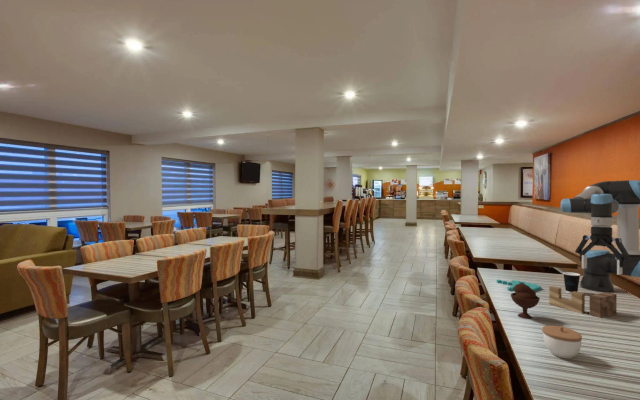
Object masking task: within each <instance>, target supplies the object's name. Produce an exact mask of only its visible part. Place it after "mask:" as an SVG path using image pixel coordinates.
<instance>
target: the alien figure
mask: <svg viewBox="0 0 640 400" xmlns="http://www.w3.org/2000/svg"><path fill="white" fill-rule="evenodd" d="M496 284H502V285H507V287H506V288H507V291H508V292H514V287H515V285H517V284H525V285H527V286H528V287H529V288H531V289H533V290H534V291H535V292H536V293H537V292H539V291H540V290H541V291H542V286H541V285H539V284H538V283H537V284H536V283H531V282H526V281H521V280H514V279H513V280H511V281H507V280H502V279H496Z"/></svg>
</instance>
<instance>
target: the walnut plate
mask: <svg viewBox="0 0 640 400" xmlns="http://www.w3.org/2000/svg"><path fill="white" fill-rule="evenodd" d="M617 303H618V301H617V294H616V293H613V292H600V293H596V294H591V295H589V316H592V317H595V318H598V319H601V318H603V317H604V316H606V317H609V316H613V315H616V314H617V311H618V309H617V307H618V306H617Z"/></svg>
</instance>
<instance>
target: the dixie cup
mask: <svg viewBox="0 0 640 400" xmlns="http://www.w3.org/2000/svg"><path fill="white" fill-rule="evenodd" d="M562 274H563V281H564V288H565V293H568V294H571V292H574V291H575V292H579V286H580V278H581V277H580V276H581V274H580V273H578V272H572V271H571V272H570V271H565V272H564V271H563V272H562Z"/></svg>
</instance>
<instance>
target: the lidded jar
mask: <svg viewBox="0 0 640 400" xmlns="http://www.w3.org/2000/svg"><path fill="white" fill-rule="evenodd" d="M541 329H542V339H543V343H544V345H545V347H546V348H547V349H548V350H549V351H550V353H551V354H552V355H554V356H556V357H558V358H562V359H567V360H568V359H573V357H575V356H577V355H578V354H579V352H580V351H581V348H582V339H583V336H582V335H581V334H580V332H578V331H576V330H574V329H571V328H569V327H568V328H567V327H564V326H561V325H560V326H557V325H545V326H542V328H541Z"/></svg>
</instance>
